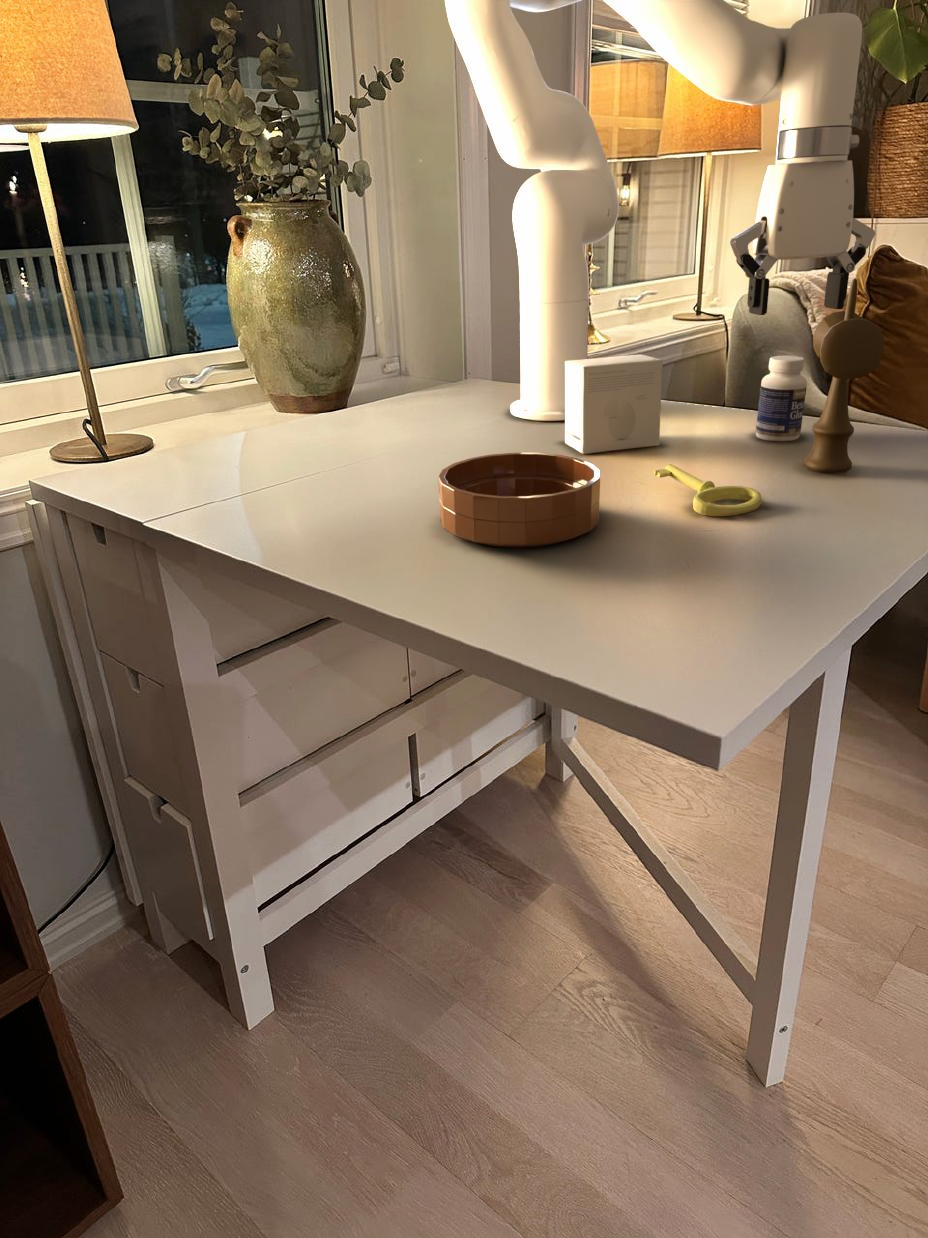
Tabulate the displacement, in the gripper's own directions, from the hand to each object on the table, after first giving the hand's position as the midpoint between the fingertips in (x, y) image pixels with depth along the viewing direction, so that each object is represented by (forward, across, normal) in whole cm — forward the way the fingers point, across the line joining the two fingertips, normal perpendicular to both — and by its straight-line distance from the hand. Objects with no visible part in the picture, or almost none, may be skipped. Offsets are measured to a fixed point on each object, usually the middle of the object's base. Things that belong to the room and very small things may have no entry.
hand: (795, 310), depth 105 cm
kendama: (+16, +2, +14) cm, 21 cm away
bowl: (+15, +39, +23) cm, 48 cm away
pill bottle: (+15, 0, 0) cm, 15 cm away
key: (+15, +19, +20) cm, 32 cm away
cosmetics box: (+15, +21, -4) cm, 26 cm away
